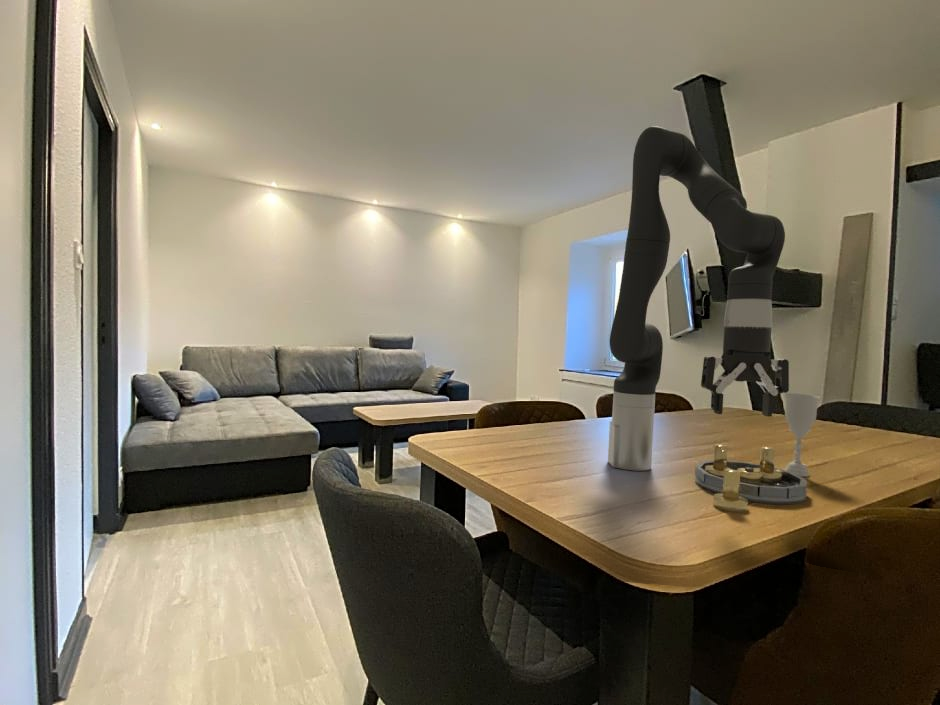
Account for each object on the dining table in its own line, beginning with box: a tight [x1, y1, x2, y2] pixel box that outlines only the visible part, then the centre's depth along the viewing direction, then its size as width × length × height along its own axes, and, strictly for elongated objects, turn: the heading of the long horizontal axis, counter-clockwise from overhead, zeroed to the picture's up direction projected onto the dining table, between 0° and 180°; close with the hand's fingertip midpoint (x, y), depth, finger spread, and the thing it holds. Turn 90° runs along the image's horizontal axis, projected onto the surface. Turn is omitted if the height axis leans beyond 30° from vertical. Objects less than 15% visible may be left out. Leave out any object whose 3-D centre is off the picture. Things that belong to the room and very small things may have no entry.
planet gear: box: [712, 469, 749, 513], centre depth 92 cm, size 6×6×7 cm
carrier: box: [694, 443, 808, 505], centre depth 104 cm, size 20×20×8 cm
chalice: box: [783, 392, 821, 477], centre depth 116 cm, size 7×7×18 cm
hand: (742, 414), depth 92 cm, fingers open, 8 cm apart
